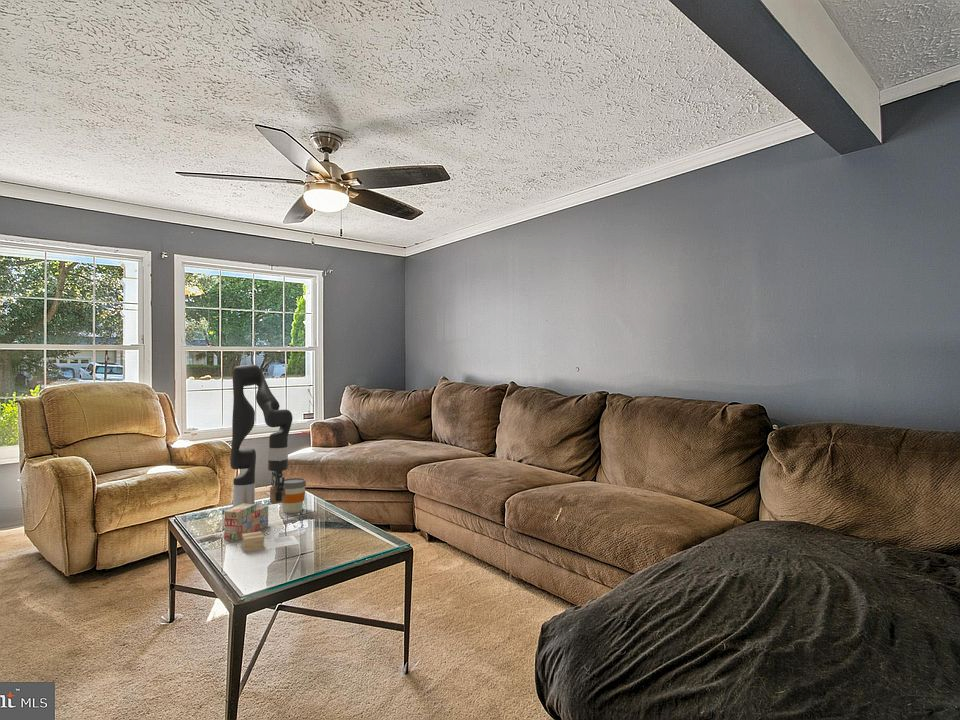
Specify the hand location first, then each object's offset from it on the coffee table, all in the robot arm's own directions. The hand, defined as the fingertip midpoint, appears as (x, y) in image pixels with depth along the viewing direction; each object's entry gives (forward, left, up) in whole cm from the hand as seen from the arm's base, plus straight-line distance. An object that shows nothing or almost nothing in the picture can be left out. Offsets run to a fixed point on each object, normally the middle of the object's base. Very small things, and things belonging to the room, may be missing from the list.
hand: (277, 499), depth 208 cm
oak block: (+4, -10, -17) cm, 20 cm away
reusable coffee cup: (-45, +14, -18) cm, 51 cm away
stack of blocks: (-19, -9, -18) cm, 28 cm away
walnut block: (0, 0, -1) cm, 1 cm away
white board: (+2, -4, -17) cm, 18 cm away
